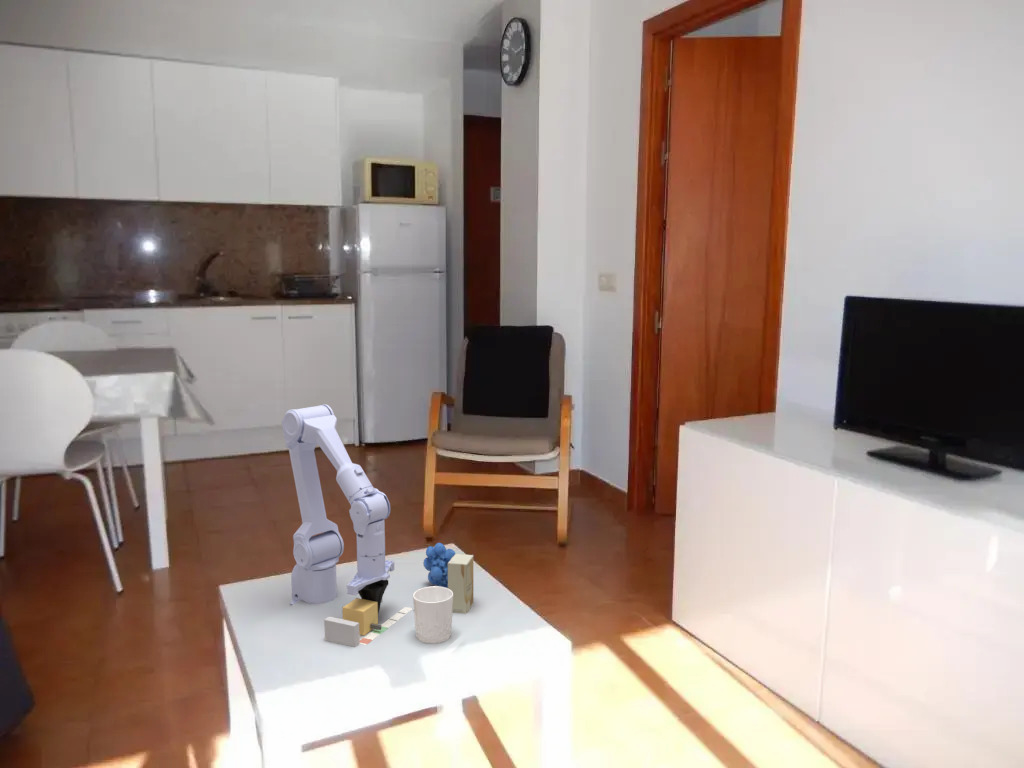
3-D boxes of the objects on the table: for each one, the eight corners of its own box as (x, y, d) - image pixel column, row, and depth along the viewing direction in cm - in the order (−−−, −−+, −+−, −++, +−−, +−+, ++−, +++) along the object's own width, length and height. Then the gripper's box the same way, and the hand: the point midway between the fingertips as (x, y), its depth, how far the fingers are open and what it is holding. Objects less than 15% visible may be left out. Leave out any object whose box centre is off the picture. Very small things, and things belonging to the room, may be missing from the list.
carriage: (343, 631, 153) (342, 607, 153) (357, 620, 158) (356, 597, 157) (373, 637, 151) (373, 613, 150) (387, 627, 155) (386, 603, 154)
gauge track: (314, 646, 150) (314, 619, 149) (376, 602, 170) (376, 578, 169) (362, 657, 146) (361, 629, 145) (419, 611, 166) (419, 586, 165)
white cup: (414, 633, 156) (413, 586, 154) (453, 631, 156) (452, 585, 155) (412, 652, 148) (412, 603, 146) (453, 650, 149) (453, 601, 147)
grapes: (412, 595, 174) (411, 544, 173) (431, 585, 180) (430, 536, 178) (452, 607, 168) (452, 555, 166) (471, 596, 173) (470, 546, 172)
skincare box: (466, 620, 162) (466, 565, 160) (447, 618, 163) (446, 563, 161) (474, 607, 168) (474, 554, 166) (455, 605, 169) (455, 552, 167)
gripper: (367, 567, 148) (369, 633, 150) (406, 543, 162) (407, 604, 164) (337, 561, 151) (339, 626, 153) (377, 539, 164) (379, 598, 166)
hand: (372, 614), depth 159 cm, fingers closed
